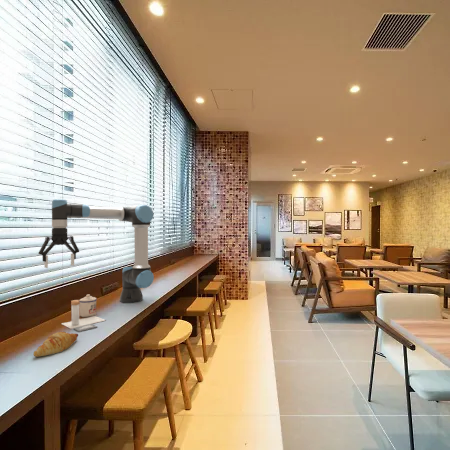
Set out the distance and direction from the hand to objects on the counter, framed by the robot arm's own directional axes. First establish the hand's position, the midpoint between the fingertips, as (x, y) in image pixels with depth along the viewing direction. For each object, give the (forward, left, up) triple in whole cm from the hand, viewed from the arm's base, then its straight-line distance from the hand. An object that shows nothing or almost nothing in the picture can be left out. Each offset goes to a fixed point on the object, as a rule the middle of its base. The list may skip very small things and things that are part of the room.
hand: (59, 266), depth 171 cm
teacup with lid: (-15, +3, -29) cm, 33 cm away
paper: (-6, +16, -29) cm, 33 cm away
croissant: (+17, +44, -29) cm, 56 cm away
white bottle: (-1, +18, -28) cm, 34 cm away
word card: (-2, +27, -29) cm, 39 cm away
